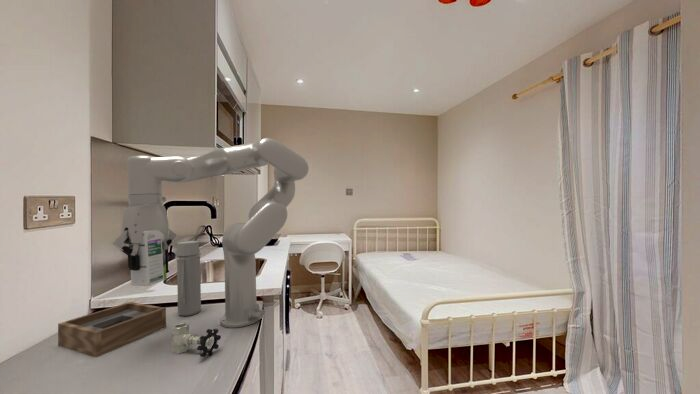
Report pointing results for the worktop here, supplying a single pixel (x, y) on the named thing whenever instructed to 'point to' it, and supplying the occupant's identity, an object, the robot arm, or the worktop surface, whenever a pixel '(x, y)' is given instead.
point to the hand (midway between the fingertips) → (148, 266)
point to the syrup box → (150, 260)
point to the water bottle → (188, 278)
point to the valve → (193, 340)
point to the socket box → (110, 328)
